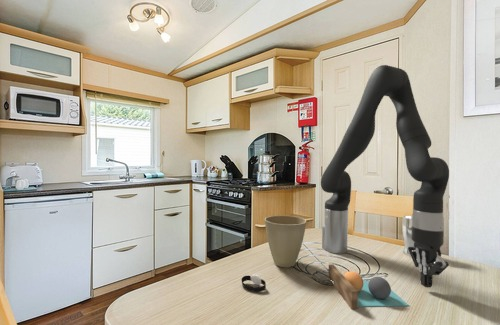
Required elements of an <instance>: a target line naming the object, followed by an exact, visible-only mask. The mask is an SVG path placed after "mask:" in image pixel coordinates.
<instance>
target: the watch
mask: <svg viewBox="0 0 500 325" xmlns="http://www.w3.org/2000/svg"><path fill="white" fill-rule="evenodd" d="M246 281H250V282H252V283H253V284H254V285H256V286H253V285H252V286H251V285H249V284H246V283H244V282H246ZM241 285H242V287H243V288H244V289H245V290H248V291H250V292H254V293H262V292H264V291H265V290H266V287H267V286H266V285H267V284H266V281H265V280H264V279H262V278H261V277H260V276H259V275H258V274H257V273H255V274H253V275H244V276H242V277H241ZM259 285H262V286H259ZM258 286H259V287H258Z"/></svg>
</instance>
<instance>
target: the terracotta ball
mask: <svg viewBox="0 0 500 325" xmlns="http://www.w3.org/2000/svg"><path fill="white" fill-rule="evenodd" d="M343 276H344V277H345V278H346V279H347V280H348V281H349V282H350V284H351V285H352V286H353V287H354V288H355V289H356V290H357V291H358V292H359V291H361V289H362V288H363V279H364V278H363V277H362V276H361V275H360V273H358V272H356V271H353V270H350V271H347V272H345V273H344V275H343Z"/></svg>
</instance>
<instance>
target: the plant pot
mask: <svg viewBox="0 0 500 325" xmlns="http://www.w3.org/2000/svg"><path fill="white" fill-rule="evenodd" d="M264 224H265V232H266V233H265V234H266V238H267V244H268V247H269V251H270V254H271V257H272V260H273V262H274V265H275V266H277V267H280V268H292V267H294V266H296V263H297V260H298V258H299V256H300V252H301V248H302V246H303V241H304V237H305V232H306V226H307V219H305V218H303V217H299V216H295V215H294V216H293V215H285V214H284V215H283V214H282V215H280V214H278V215H271V216H270V215H269V216H267V217H265V218H264ZM291 266H292V267H291Z"/></svg>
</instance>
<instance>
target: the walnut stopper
mask: <svg viewBox="0 0 500 325" xmlns="http://www.w3.org/2000/svg"><path fill="white" fill-rule="evenodd" d="M328 278H329V279H330V280H332V281H334V285H333V287H334V288H335V289H336V290H337V292H338V294H340V296H341V298H342V299H343V300H344V301H345V302H346V304H347V305H348V307H350V309H351V310H358V307H357V299H358V291H357V290H356V289H355V288H354V287H353V286H352V285H351V284H350V282H349V281H348V280H347V279H346V278H345V277H344V275H343V274H342V273H341V271H340V270H339V269H338V268H337V267H336V266H335V265H334V264H328ZM328 278H327V279H328ZM329 279H328V280H329ZM330 280H329V281H330Z"/></svg>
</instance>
